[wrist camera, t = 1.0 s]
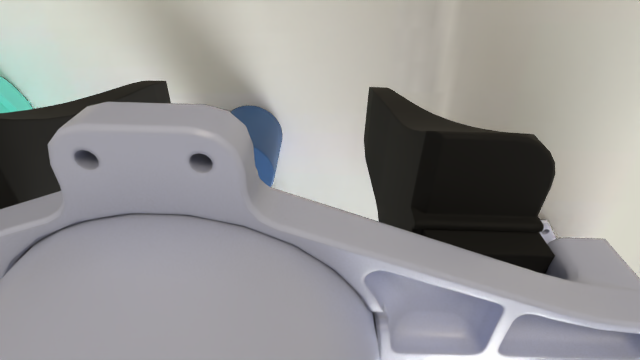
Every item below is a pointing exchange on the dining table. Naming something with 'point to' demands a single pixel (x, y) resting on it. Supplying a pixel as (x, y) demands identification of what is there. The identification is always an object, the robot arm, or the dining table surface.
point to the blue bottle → (262, 139)
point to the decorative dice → (11, 98)
